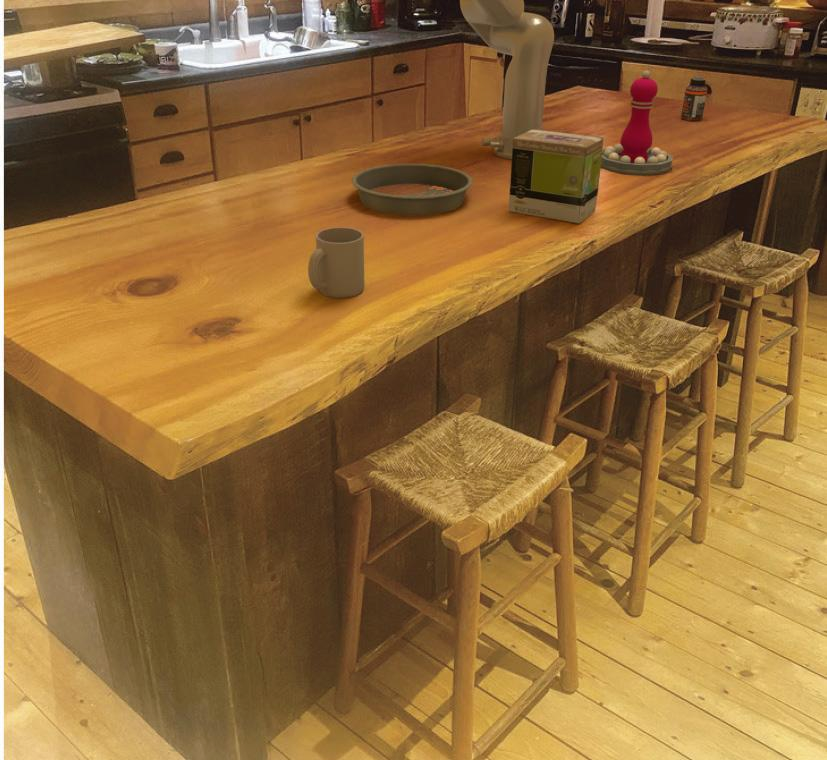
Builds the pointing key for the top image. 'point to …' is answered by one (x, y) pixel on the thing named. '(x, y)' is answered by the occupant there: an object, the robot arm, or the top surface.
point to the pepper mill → (639, 119)
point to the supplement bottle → (694, 100)
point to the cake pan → (412, 175)
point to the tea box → (555, 175)
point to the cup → (338, 262)
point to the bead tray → (636, 167)
